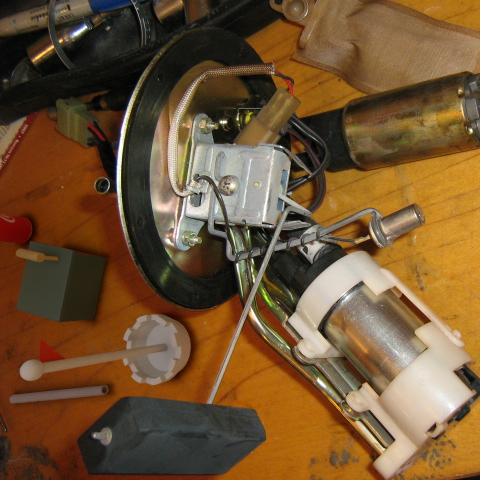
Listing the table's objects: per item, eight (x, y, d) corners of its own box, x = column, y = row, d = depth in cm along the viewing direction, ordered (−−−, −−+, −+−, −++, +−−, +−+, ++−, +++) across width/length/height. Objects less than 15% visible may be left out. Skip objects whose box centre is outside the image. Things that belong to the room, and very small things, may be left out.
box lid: (33, 241, 97) (7, 238, 92) (76, 250, 92) (50, 248, 87) (19, 309, 96) (-8, 310, 91) (62, 322, 92) (35, 324, 87)
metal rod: (109, 393, 96) (101, 395, 94) (18, 402, 105) (9, 404, 103) (108, 384, 96) (100, 386, 94) (17, 393, 105) (9, 395, 103)
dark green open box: (65, 248, 104) (32, 245, 97) (106, 257, 100) (75, 255, 92) (53, 307, 104) (20, 309, 97) (94, 319, 99) (62, 322, 92)
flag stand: (206, 351, 88) (71, 380, 60) (163, 394, 91) (15, 440, 63) (171, 299, 92) (29, 304, 64) (131, 341, 95) (-22, 363, 67)
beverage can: (27, 212, 110) (-26, 203, 99) (38, 230, 108) (-15, 224, 97) (12, 230, 111) (-42, 224, 100) (23, 249, 109) (-31, 244, 98)
